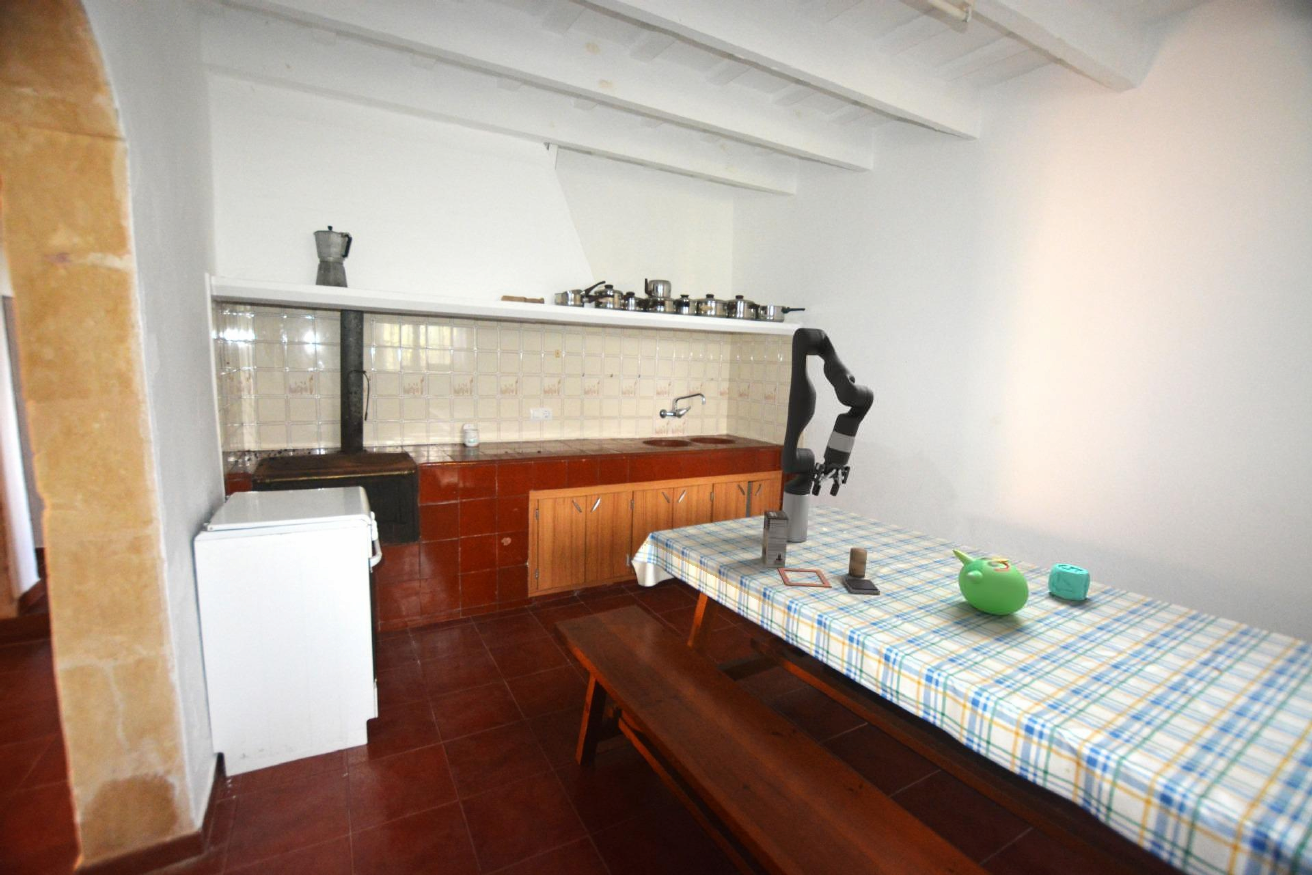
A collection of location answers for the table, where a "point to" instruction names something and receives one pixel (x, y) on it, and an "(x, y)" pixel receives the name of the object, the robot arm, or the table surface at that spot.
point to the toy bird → (992, 584)
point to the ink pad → (861, 586)
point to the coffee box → (774, 538)
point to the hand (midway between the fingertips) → (823, 495)
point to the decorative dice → (1069, 582)
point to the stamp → (857, 562)
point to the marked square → (787, 582)
